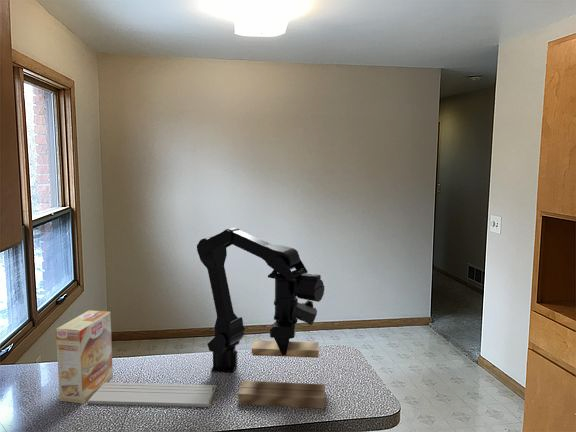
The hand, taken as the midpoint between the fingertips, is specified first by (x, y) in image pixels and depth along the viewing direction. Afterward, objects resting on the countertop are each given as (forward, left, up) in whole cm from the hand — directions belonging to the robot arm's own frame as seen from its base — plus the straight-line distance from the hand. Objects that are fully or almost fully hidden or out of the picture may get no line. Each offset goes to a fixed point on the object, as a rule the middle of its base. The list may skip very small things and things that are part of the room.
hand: (285, 350), depth 128 cm
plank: (0, 0, -1) cm, 1 cm away
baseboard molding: (-34, -8, -11) cm, 36 cm away
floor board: (0, -8, -10) cm, 13 cm away
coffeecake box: (-53, -7, -10) cm, 54 cm away
